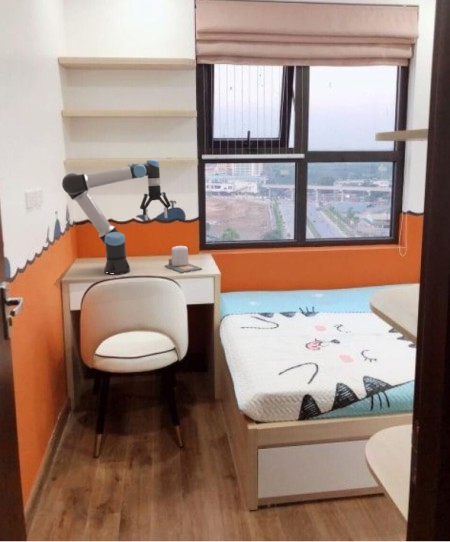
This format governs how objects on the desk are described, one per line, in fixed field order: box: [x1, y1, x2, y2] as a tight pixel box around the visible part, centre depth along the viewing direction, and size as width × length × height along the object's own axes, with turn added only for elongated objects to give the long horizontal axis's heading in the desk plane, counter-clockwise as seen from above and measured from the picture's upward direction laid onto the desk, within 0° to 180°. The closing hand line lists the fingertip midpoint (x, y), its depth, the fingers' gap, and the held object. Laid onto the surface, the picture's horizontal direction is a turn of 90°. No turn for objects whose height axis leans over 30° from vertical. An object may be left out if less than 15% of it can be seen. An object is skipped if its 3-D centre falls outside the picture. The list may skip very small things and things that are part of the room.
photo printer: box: [171, 245, 189, 266], centre depth 323 cm, size 10×4×12 cm, turn 101°
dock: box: [164, 258, 203, 274], centre depth 321 cm, size 14×22×4 cm, turn 32°
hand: (156, 219), depth 330 cm, fingers open, 13 cm apart
